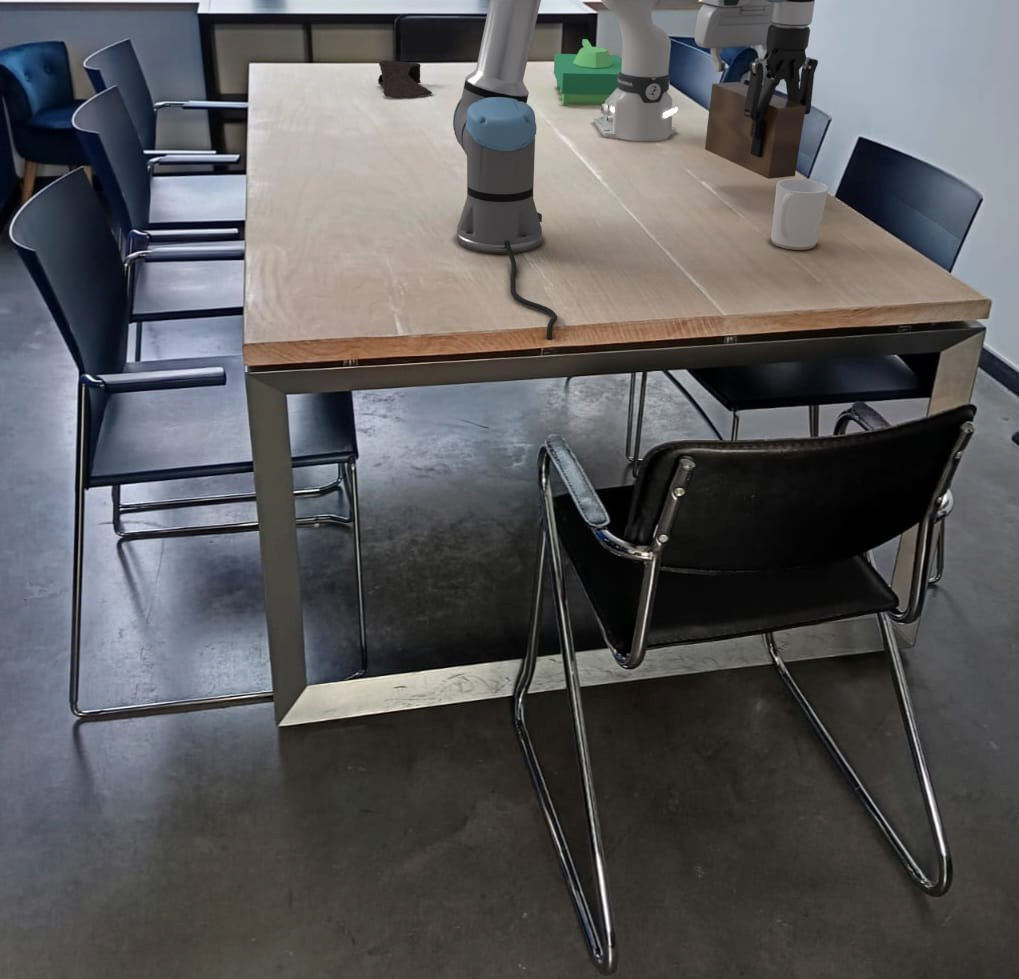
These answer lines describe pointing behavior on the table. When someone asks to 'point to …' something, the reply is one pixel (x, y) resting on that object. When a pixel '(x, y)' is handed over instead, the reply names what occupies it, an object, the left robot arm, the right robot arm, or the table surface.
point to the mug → (798, 213)
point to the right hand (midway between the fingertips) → (739, 70)
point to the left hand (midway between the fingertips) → (771, 153)
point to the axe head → (401, 79)
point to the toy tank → (587, 75)
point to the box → (733, 131)
